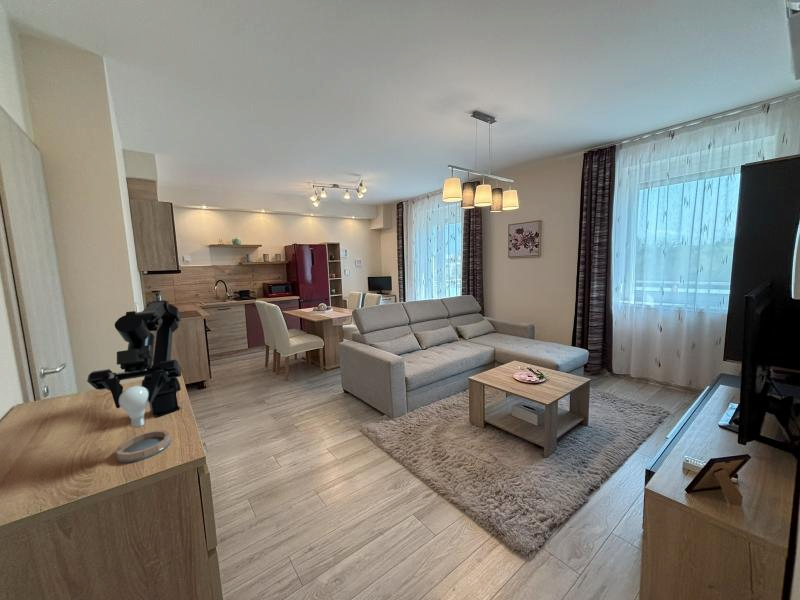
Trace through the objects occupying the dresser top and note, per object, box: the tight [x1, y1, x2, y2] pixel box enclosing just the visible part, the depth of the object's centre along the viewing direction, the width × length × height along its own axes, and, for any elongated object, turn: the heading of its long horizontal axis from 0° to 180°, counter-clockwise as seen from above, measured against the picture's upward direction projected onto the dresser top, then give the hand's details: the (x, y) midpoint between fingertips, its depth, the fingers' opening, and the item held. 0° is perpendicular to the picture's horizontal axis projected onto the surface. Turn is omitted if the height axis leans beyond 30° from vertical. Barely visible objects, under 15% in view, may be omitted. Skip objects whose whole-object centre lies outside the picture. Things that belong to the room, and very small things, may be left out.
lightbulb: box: [119, 385, 149, 429], centre depth 83 cm, size 6×6×11 cm
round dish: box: [115, 429, 172, 464], centre depth 84 cm, size 11×11×2 cm
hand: (134, 404), depth 81 cm, fingers closed on lightbulb, 6 cm apart
